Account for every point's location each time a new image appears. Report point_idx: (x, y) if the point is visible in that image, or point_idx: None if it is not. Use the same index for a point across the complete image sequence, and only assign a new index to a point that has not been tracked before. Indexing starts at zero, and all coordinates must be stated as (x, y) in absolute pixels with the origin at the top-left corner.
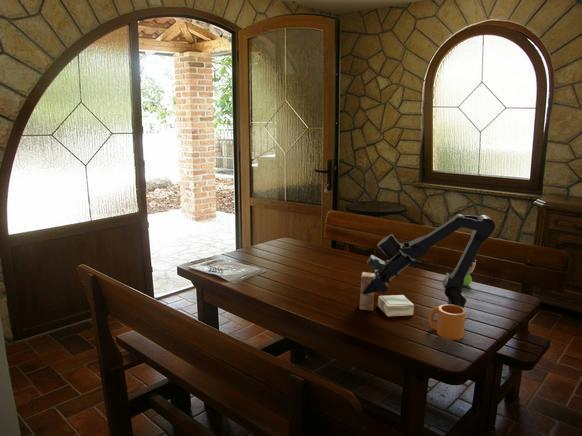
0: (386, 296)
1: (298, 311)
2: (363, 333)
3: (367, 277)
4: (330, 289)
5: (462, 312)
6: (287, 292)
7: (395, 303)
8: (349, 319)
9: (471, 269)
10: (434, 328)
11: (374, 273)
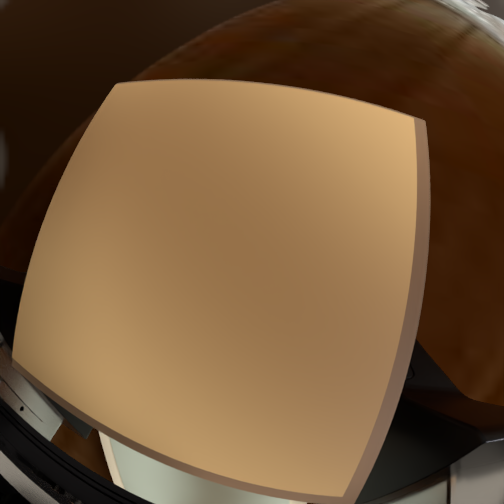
0: None
1: (222, 33)
2: (17, 231)
3: (54, 196)
4: (484, 156)
5: None
6: (392, 28)
7: (134, 478)
8: None
9: None
10: None
11: (316, 493)
